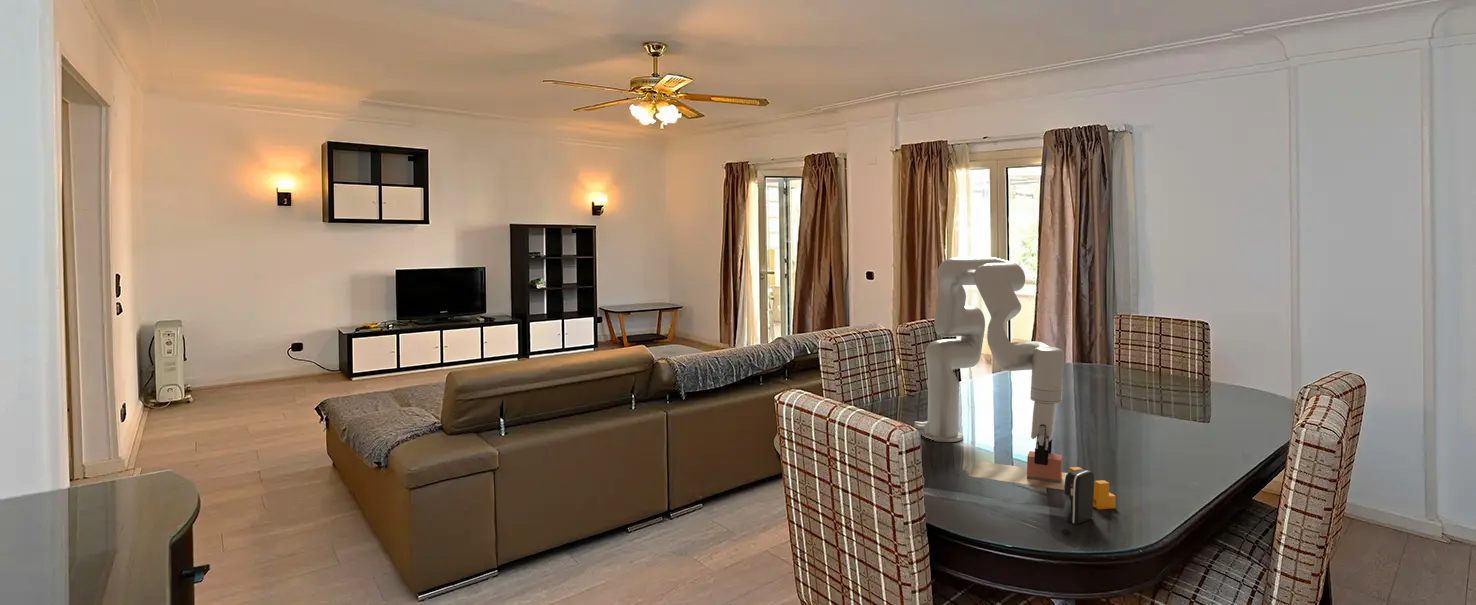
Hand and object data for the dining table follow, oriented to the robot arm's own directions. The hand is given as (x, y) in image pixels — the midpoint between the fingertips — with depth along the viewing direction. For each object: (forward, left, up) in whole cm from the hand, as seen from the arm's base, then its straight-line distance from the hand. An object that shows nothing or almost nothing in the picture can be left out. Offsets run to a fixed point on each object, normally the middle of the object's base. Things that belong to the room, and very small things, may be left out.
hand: (1042, 458), depth 190 cm
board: (-5, -1, -7) cm, 9 cm away
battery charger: (+10, -23, -7) cm, 25 cm away
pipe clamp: (+12, -7, -7) cm, 16 cm away
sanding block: (+1, 0, -5) cm, 5 cm away
